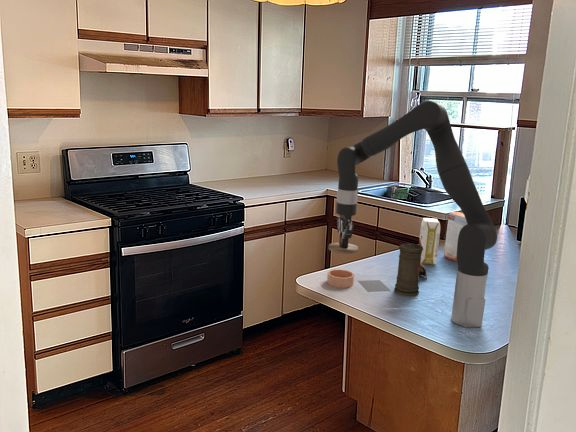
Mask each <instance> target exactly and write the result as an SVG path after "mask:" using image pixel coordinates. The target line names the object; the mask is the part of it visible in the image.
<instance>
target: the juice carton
mask: <svg viewBox="0 0 576 432" xmlns="http://www.w3.org/2000/svg"><path fill="white" fill-rule="evenodd" d="M440 234H441V223H440V221H439V220H438V218H432V217H431V218H430V217H422V221H421V223H420V231H419V238H418V239H419V240H418V245H420V246H422V247H423V251H422V253H421V262H420V263H421V264H422V265H432V266H433V265H436V263H437V259H438V252H439V251H438V250H439V246H440V245H439V242H440V237H441V235H440Z"/></svg>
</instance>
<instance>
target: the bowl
mask: <svg viewBox="0 0 576 432" xmlns="http://www.w3.org/2000/svg"><path fill="white" fill-rule="evenodd" d="M326 278H327V279H326V282H327V284H328V285H330V286H331V287H335V288H340V289H341V288H345V289H346V288H351V287H353V286H354V283H355V274H354V272H353V271H351V270H348V269H341V268H340V269H339V268H336V269H331V270H329V271H328V272H327V275H326Z"/></svg>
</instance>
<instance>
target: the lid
mask: <svg viewBox="0 0 576 432" xmlns="http://www.w3.org/2000/svg"><path fill="white" fill-rule="evenodd" d="M339 238H340V237H339ZM327 249H328V250H329V251H331V252H332V253H337V254H341V255H342V254H343V255H347V254H348V255H351V254H356V253H358V251H359V247H358V246H357V245H356V244H352V243H349V242H348V248H342V236H341V238H340V245H339V242H332V243H329V244H328V248H327Z"/></svg>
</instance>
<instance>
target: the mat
mask: <svg viewBox="0 0 576 432" xmlns="http://www.w3.org/2000/svg"><path fill="white" fill-rule="evenodd" d="M357 282H358V283H359V284H360V285H361V286H362V287H363V288H364V290H366V291H367V292H369V293H370V292H391V291H392V290H391V289H390V288H389V287H388V286H387V285H385V283H384V282H383V281H381V280H380V279H377V280H375V279H373V280H372V279H371V280H370V279H369V280H357Z"/></svg>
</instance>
